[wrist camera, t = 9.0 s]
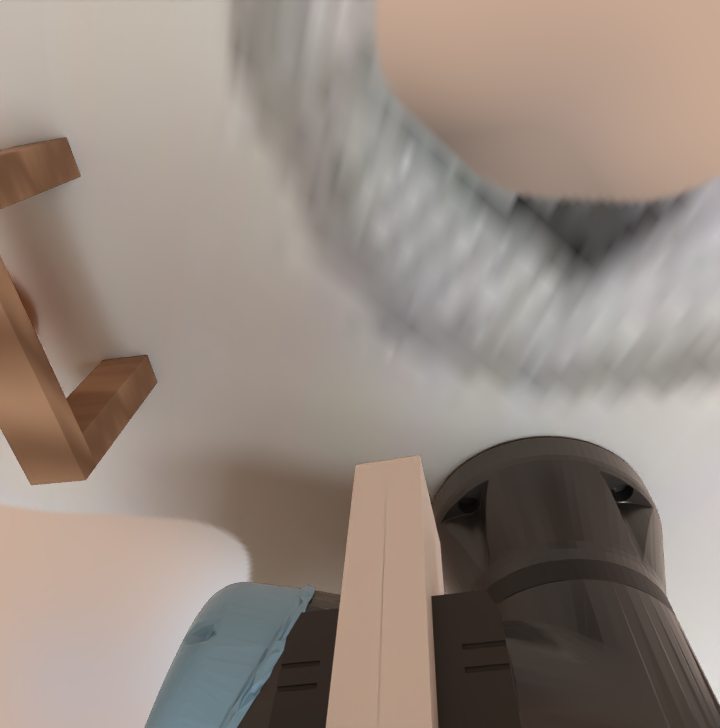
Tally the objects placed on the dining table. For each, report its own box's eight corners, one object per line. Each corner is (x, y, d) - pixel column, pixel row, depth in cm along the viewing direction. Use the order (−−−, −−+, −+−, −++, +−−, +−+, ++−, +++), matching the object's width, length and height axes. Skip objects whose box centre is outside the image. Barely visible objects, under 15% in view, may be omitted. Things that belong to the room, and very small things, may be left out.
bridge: (157, 382, 38) (85, 480, 29) (113, 387, 38) (31, 485, 30) (66, 137, 31) (-62, 172, 23) (14, 146, 31) (-131, 184, 23)
